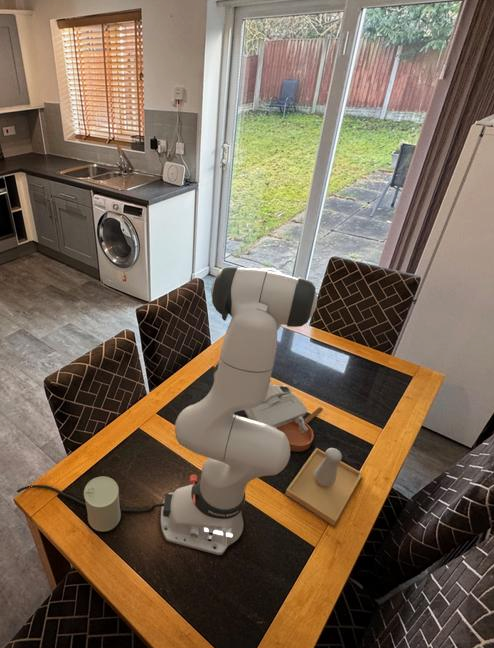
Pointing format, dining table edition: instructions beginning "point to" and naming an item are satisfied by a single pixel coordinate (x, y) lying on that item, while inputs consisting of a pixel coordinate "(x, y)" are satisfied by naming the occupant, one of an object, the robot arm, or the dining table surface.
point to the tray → (323, 488)
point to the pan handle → (313, 415)
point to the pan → (297, 436)
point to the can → (102, 503)
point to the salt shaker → (328, 468)
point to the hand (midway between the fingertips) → (294, 436)
